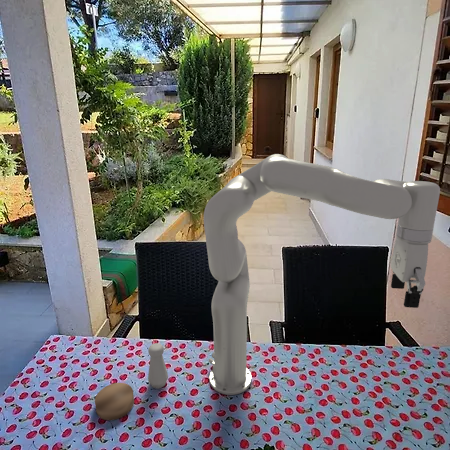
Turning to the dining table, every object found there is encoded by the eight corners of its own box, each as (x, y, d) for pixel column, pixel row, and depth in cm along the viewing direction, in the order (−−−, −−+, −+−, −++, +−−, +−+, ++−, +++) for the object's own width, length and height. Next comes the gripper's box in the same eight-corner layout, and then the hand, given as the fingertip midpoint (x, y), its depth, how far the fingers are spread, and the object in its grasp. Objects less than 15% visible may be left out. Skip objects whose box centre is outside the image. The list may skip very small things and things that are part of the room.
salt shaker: (164, 392, 98) (161, 354, 94) (145, 389, 99) (141, 351, 95) (171, 378, 103) (168, 341, 99) (153, 375, 104) (150, 339, 101)
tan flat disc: (90, 403, 94) (89, 395, 93) (124, 385, 100) (123, 377, 100) (105, 427, 87) (103, 417, 86) (140, 406, 93) (139, 397, 92)
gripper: (386, 222, 91) (378, 281, 96) (410, 245, 74) (399, 314, 79) (416, 223, 89) (407, 282, 95) (448, 246, 73) (434, 316, 78)
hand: (403, 297), depth 87 cm, fingers open, 9 cm apart
